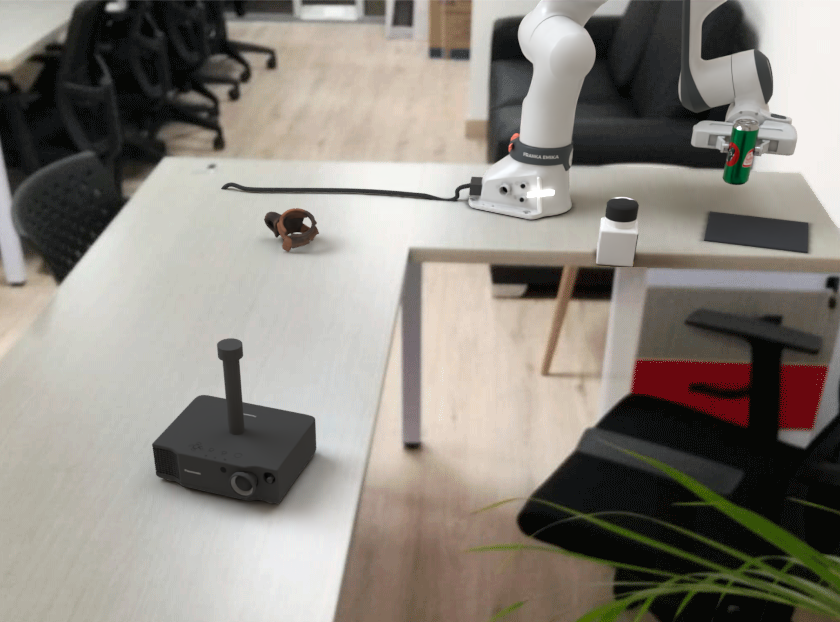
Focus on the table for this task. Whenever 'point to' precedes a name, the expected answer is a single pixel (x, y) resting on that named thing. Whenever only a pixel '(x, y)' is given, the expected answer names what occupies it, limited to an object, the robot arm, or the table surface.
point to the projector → (235, 442)
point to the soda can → (740, 151)
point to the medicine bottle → (618, 233)
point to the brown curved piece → (292, 227)
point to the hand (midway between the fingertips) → (741, 150)
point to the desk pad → (757, 232)
